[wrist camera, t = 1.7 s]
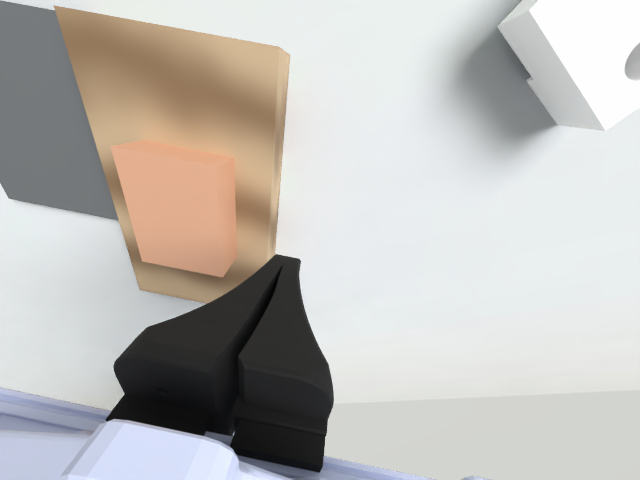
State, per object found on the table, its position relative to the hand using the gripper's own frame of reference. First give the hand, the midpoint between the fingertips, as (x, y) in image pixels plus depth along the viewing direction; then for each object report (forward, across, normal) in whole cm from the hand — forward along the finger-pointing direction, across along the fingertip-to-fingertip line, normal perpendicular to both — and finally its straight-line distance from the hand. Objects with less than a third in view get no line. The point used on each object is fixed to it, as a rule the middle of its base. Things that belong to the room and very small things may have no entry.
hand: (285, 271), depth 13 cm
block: (+5, +8, 0) cm, 10 cm away
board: (+8, +8, 0) cm, 12 cm away
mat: (+8, +21, -3) cm, 22 cm away
